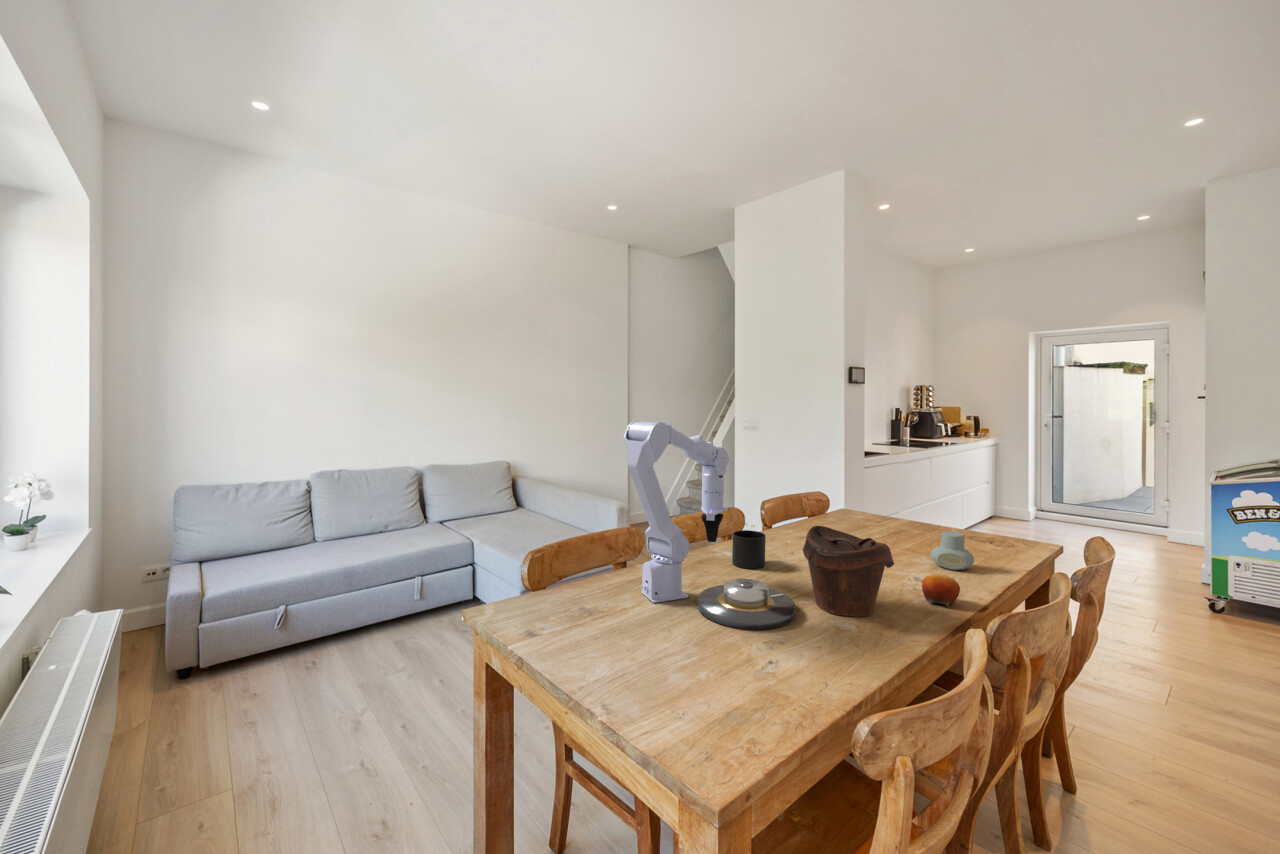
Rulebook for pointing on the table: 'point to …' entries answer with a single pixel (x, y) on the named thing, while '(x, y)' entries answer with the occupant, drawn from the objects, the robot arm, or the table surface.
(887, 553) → the case
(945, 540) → the air freshener
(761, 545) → the black cylindrical cup
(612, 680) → the table surface
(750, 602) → the cover
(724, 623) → the turntable
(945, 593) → the fruit
